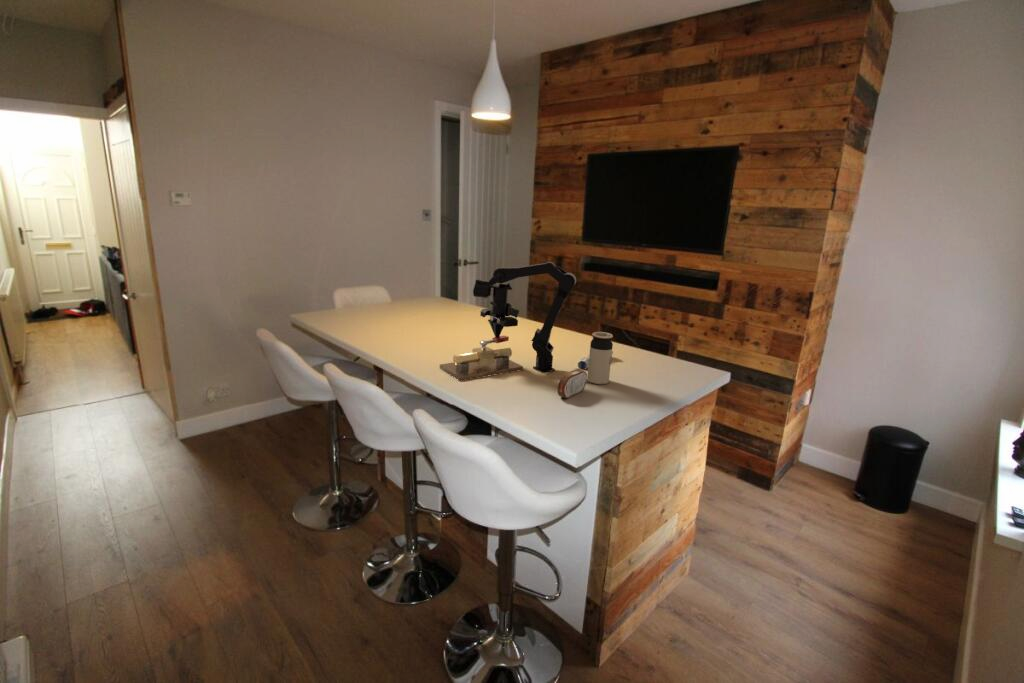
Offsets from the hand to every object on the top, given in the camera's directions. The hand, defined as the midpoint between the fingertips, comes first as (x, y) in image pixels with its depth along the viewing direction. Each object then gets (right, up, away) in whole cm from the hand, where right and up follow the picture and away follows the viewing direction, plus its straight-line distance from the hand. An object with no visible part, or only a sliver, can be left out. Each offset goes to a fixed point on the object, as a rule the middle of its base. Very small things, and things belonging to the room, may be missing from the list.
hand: (497, 338), depth 191 cm
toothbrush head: (+41, -11, +12) cm, 44 cm away
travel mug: (+38, -16, -11) cm, 43 cm away
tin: (+26, -20, -26) cm, 42 cm away
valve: (-5, -12, -5) cm, 14 cm away
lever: (-1, -2, -4) cm, 4 cm away
